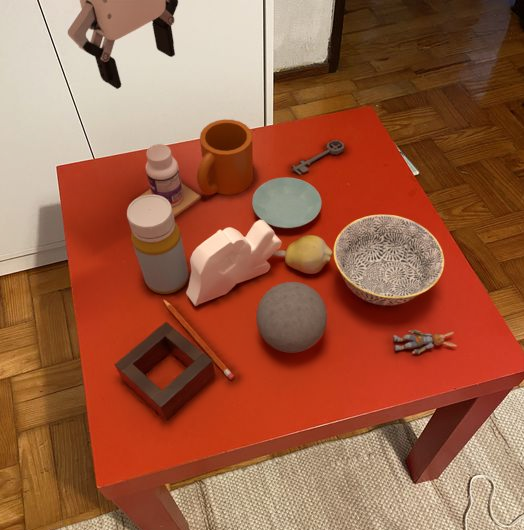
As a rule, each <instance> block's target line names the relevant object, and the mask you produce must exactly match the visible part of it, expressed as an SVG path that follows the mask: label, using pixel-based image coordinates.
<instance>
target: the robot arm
mask: <svg viewBox="0 0 524 530" xmlns="http://www.w3.org/2000/svg"><path fill="white" fill-rule="evenodd" d="M79 3H80V4H79V5H80V7H81V10H80V12H79V13H78V14H77V16H76V18H75V19H74V20H73V22H72V23H71V25H70V27H69V28H68V30H67V35H68V37H69V38H70V39H71V40H72V41H73V42H74V43H75V44H76V45H77V46H78V48H79V49H81V50H82V51H84V52H86V53H87V54H89V55H91V56H93V57H94V58H95V62H96V65H97V69H98V72H99V75H100V78H101V80H102V81H104V82H105V83H107V84H109V85H110V86H112V87H113V88H115V90H118V89H120V88H122V81H121V77H120V73H119V70H118V65H117V62H116V59H115V58H114V57H112V56H111V55H112V51H113V48H114V45H115V42H116V41H118V40H119V39H122V38H123V37H125V36H127V35H129V34H131V33H132V32H135V31H136V30H138V29H141V28H142V27H143V26H145V25H148V24H150V23H151V22H152V25H151V26H152V31H153V36H154V41H155V46H156V49H157V51H159V52H161V53H163V54H164V55H166V56H168V57H170V58H173V57H174V56H176V53H175V52H176V51H175V42H174V35H173V30H172V29H173V28H172V26H173V25H174V23H175V17H174V15H175V13H176V10H177V8H178V6H179V0H79ZM88 30H91V31H92V35H91V38H90V40H89V38H88V37H87V33H88Z"/></svg>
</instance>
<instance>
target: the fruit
mask: <svg viewBox="0 0 524 530" xmlns="http://www.w3.org/2000/svg"><path fill="white" fill-rule="evenodd" d="M333 255H334V251H333V250H332V249H331V248H330V247H329V246H328V245H327V243H326V241H325V240H324V239H323V238H322V237H320V236H318V235H313V234H307V235H303V236H301V237H300V238H298V239H297V240H295V241H292V242H290V243H289V245H288V246H287V248H286V250H277V251H276V252H275V253H274V254H273V255H272V256H271V257H284V262H285V264H286V265H287V266H288V267H290V268H292V269H294V270H297V271H299V272H301V273H304V274H312V275H313V274H317V273H319V272H320V271H322V269H323V268H324V266H325V265H326V264H328V263H329V262H330V261H331V260H332V257H333Z"/></svg>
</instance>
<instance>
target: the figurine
mask: <svg viewBox="0 0 524 530" xmlns="http://www.w3.org/2000/svg"><path fill="white" fill-rule="evenodd" d="M454 334H455V332H454V331H451V332H448V333H445V334H443V333H434V334H431V333H423V332H422V331H421V330H418V329H412V330H411V329H410V330H408V334H405V335H403V336H402V337H400V336H398V335H396V334H394V335H393V336H392V340H393V342H397V343H401V342H405V341H406V343H404V344H402V345H398V344H395V345H394V351H395V352H397V351H398V352H399V351H402V350H408V349H410V350H411V349H413V351H412V352H411V354H412V355H416V354H417V355H419V354H421V353H423V352H424V351H426V350H428V349H432V348H434V346H440V345H442V344H443V345H446V346H448V347H452V348H453V347H454V348H456V347H458V344H455V342H454V343H453V342H450V341H445V338H446V337H450V336H453V335H454ZM424 345H425V346H424Z"/></svg>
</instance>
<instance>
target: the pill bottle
mask: <svg viewBox="0 0 524 530" xmlns="http://www.w3.org/2000/svg"><path fill="white" fill-rule="evenodd" d="M172 154H173V153H172V150H171V148H170V147H169V146H168V145H166V144H162V143H160V144H159V143H158V144H154V145H152V146H150V147H148V149H147V150H146V155H145V156H146V159H147V161H146V163H145V173H146V176H147V180H148V185H149V189H151V192H152V195H159V196H162V197H164V198H166V199H167V200H168V201H169V203H170V204H171V207H174V206H176V205H178V204H179V203H180V202H181V201H182V199H183V189H182V184H183V183H182V179H181V174H180V168H179V164H178V161H177V159H176V158H174V156H173V155H172ZM181 183H182V184H181Z"/></svg>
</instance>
